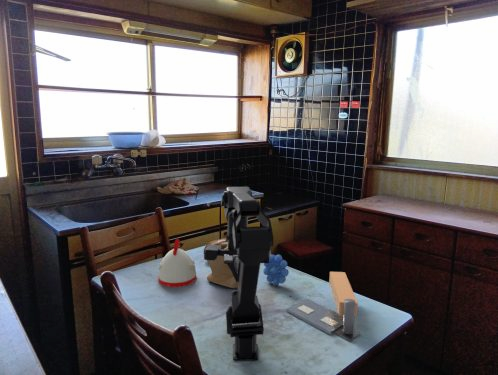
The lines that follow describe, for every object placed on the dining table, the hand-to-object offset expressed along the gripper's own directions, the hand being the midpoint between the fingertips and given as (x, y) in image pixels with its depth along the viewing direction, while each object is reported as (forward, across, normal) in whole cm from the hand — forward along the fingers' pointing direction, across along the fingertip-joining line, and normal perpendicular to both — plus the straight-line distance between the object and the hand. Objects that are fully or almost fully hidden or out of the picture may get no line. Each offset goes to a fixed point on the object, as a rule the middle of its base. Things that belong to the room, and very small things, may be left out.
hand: (237, 281), depth 111 cm
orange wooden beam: (+12, -31, -8) cm, 35 cm away
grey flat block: (+13, -32, +2) cm, 35 cm away
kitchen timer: (+13, +27, -26) cm, 40 cm away
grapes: (+13, -10, -27) cm, 32 cm away
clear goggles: (+13, +15, -48) cm, 52 cm away
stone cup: (+13, +9, -25) cm, 30 cm away
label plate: (+13, -24, -6) cm, 28 cm away
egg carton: (+13, +7, -39) cm, 42 cm away
